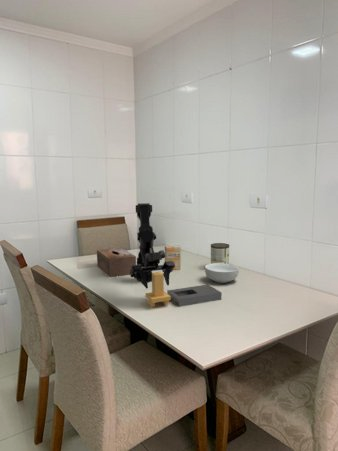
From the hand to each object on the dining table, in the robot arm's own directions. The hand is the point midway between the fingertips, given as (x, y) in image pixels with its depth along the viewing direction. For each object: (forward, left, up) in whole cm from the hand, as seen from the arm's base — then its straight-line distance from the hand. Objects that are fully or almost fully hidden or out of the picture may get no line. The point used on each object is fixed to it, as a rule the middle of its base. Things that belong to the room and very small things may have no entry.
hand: (157, 286), depth 144 cm
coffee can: (-13, +60, -8) cm, 62 cm away
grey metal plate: (+6, +16, -8) cm, 18 cm away
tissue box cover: (-55, +20, -8) cm, 60 cm away
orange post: (0, 0, -8) cm, 8 cm away
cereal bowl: (0, +44, -8) cm, 45 cm away
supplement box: (-33, +43, -8) cm, 55 cm away
